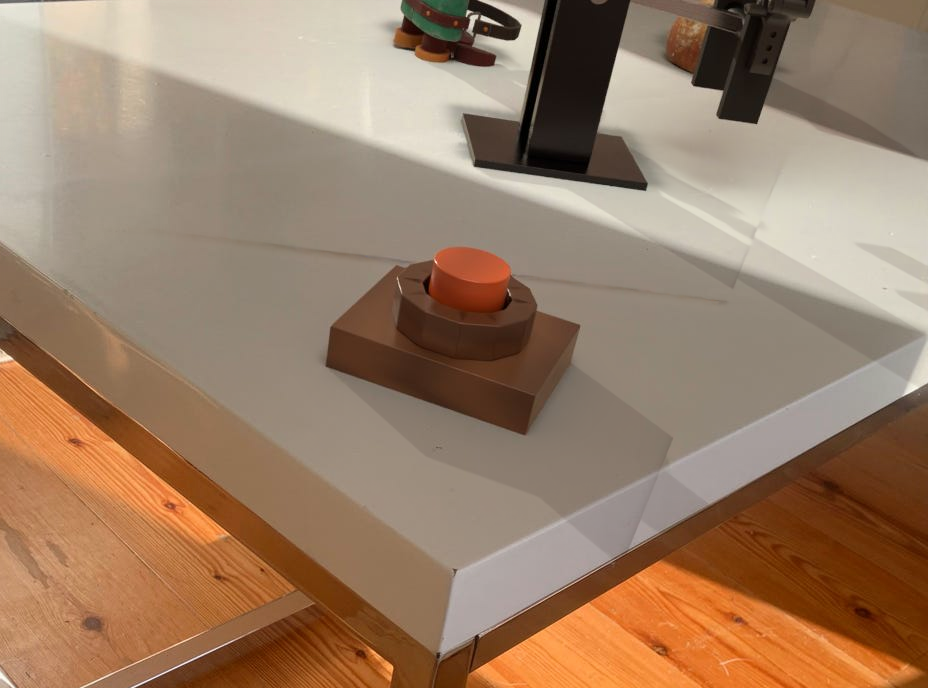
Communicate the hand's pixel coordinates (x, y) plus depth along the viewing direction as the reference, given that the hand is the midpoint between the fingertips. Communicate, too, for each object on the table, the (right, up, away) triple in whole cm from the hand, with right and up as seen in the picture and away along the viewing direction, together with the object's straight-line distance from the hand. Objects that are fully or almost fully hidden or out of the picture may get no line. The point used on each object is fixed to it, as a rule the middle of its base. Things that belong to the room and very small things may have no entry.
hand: (723, 102), depth 77 cm
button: (-18, -19, -25) cm, 36 cm away
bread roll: (+7, +15, +31) cm, 35 cm away
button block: (-19, -22, -23) cm, 37 cm away
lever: (-5, +4, -4) cm, 7 cm away
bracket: (-12, -4, +2) cm, 13 cm away
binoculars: (-19, +11, +18) cm, 28 cm away
